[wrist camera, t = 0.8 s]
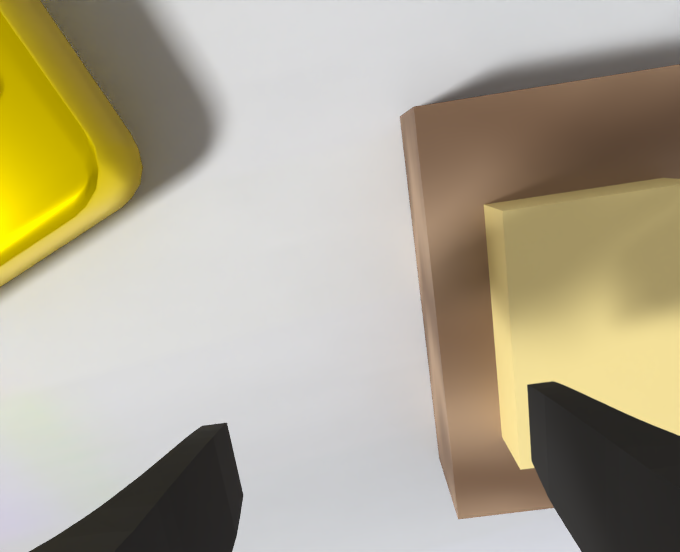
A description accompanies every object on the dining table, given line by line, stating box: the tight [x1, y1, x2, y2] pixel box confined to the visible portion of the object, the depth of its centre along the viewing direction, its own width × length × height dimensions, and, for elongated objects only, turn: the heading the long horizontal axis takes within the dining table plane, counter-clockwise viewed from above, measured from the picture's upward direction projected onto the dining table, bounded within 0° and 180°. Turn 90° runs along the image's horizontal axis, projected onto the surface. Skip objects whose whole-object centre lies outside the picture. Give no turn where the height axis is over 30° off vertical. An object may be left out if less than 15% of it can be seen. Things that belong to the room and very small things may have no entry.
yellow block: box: [484, 178, 680, 470], centre depth 16 cm, size 9×6×2 cm, turn 9°
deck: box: [400, 64, 680, 519], centre depth 19 cm, size 16×12×4 cm
